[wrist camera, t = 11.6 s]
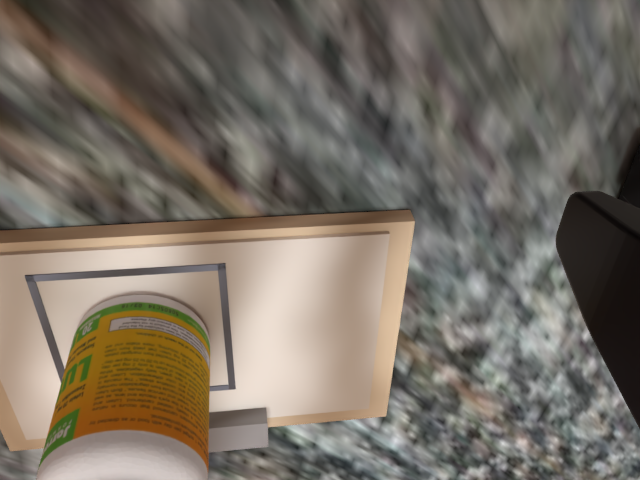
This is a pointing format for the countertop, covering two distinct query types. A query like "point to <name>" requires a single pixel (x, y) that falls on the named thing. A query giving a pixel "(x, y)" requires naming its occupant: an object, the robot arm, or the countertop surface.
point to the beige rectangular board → (218, 313)
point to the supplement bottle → (133, 396)
